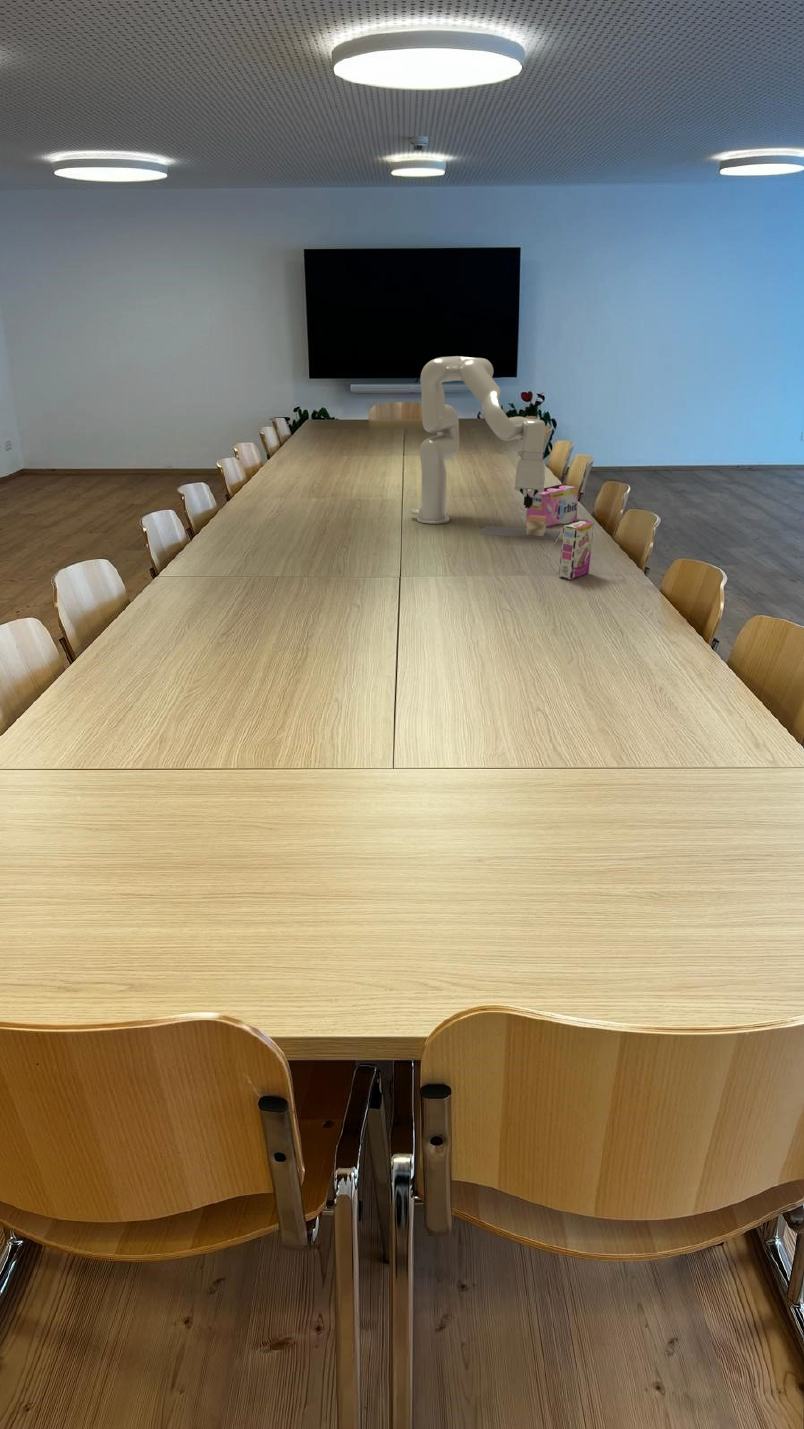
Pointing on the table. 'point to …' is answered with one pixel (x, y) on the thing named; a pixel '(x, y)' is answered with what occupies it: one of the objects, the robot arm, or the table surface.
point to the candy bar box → (576, 550)
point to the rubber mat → (517, 532)
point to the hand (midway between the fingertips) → (527, 507)
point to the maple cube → (536, 525)
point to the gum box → (555, 504)
